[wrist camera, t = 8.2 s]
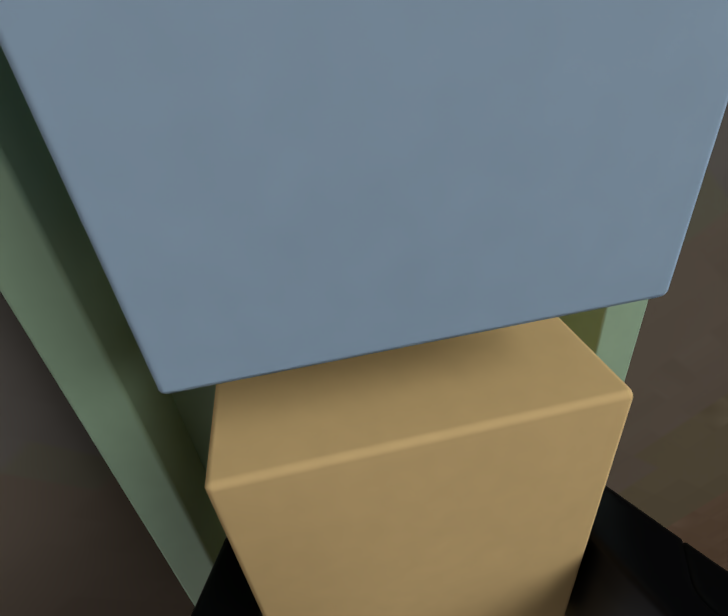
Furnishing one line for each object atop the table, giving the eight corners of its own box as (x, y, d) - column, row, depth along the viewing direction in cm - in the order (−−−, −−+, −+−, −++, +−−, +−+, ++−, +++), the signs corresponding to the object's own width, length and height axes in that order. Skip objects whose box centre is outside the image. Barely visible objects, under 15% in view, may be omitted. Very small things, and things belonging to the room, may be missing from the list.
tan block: (469, 506, 13) (546, 681, 9) (303, 546, 12) (321, 747, 9) (485, 240, 8) (639, 391, 5) (224, 285, 8) (201, 490, 4)
